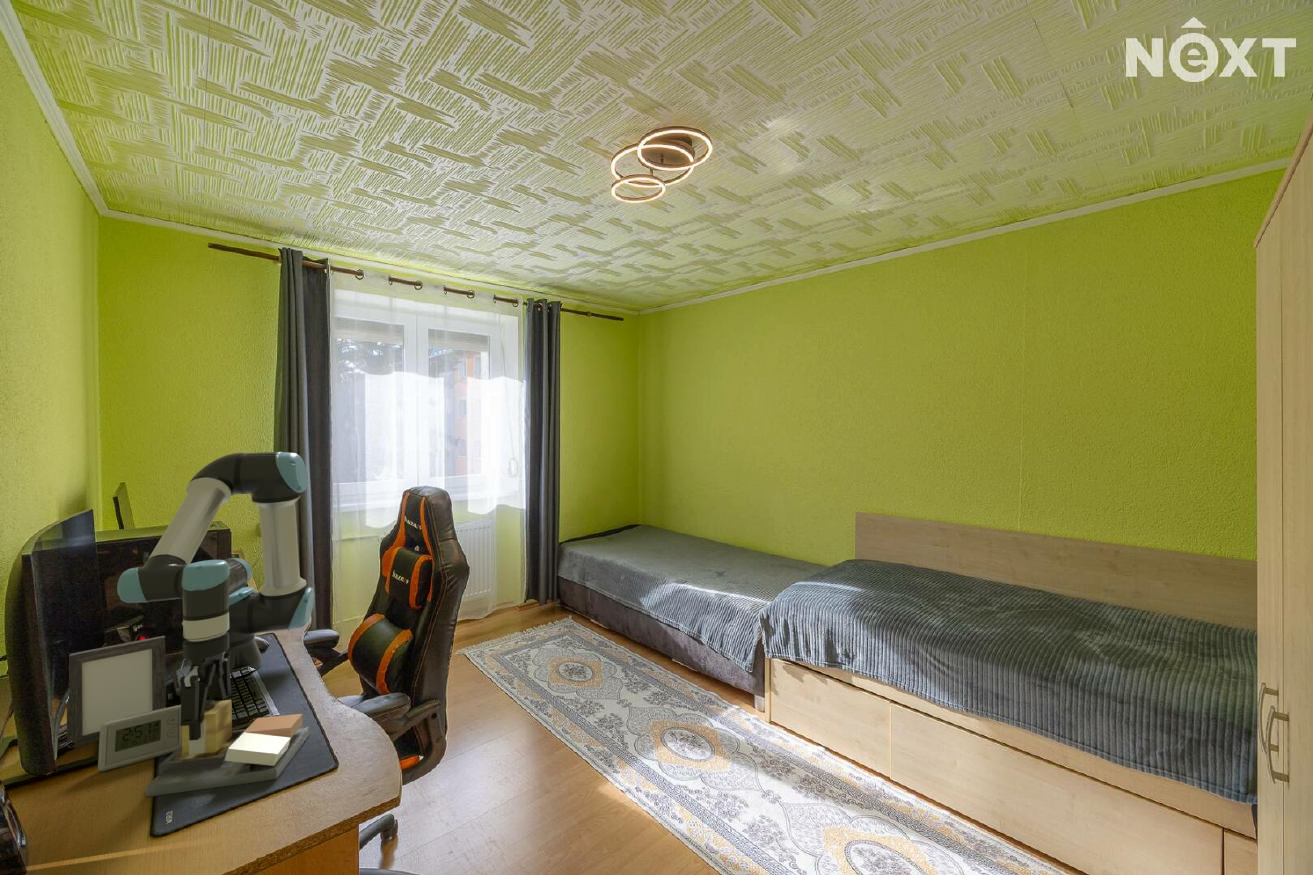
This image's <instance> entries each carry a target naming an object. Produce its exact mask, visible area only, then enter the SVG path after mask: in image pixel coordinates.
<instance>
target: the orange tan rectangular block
mask: <svg viewBox="0 0 1313 875" xmlns="http://www.w3.org/2000/svg"><path fill="white" fill-rule="evenodd" d="M303 715H304V714H303V713H298V714H297V713H296V714H294V713H293V714H287V715H274V716H263V717H257V718H256V719H255V720H254V721H253V722H252V723H250V725H249V726H248V727H247V728H245V729H246V730H245V731H244V732H245V733H254V734H263V735H271V736H280V737H289V738H292V737H293V735H294V734H295V733H296V732H297V730H298V729H299V728H302V726H303ZM244 732H243V733H244Z"/></svg>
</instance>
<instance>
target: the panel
mask: <svg viewBox="0 0 1313 875" xmlns="http://www.w3.org/2000/svg"><path fill="white" fill-rule="evenodd" d="M246 729H247V728H244V729H243V728H242V729H235V730H233V729H232V737H231V738H230V739H229V740H228V741H227V742H226V743H224V744H223V745H222V746H221V747H220V748H219V749H218V750H217V751H216V752H211V753H203V754H195V755H187V756H182V745H181V746H180V747H179V748H178V749H177V750H176V751H174V752H171V754H170V755H169V756H168V757H167V758H165V759H164V760H163V761H162V762H161V763H160V764H158V772H159V773H160V774H158V775H157V776H156V777H155V778H154V779H153V780H152V781H151V782H149V783H148V785H146V786H145V797H146V798H149V797H156V796H162V795H170V794H178V793H184V792H185V793H186V792H193V791H199V790H206V789H207V790H208V789H213V788H214V789H215V788H221V787H229V786H235V785H236V786H237V785H243V784H250V783H257V782H263V781H271V780H278V777H279V776H280V775H281V774H282V773H283V771H284V769H286V767H287V766H288V764H289V763H290V762H291V760H292V759H293V758H294V757H295V755H296V754H297V753H298V752H299V749H300V748H302V746H303V745H304V743H305V742H306V740H307V739H308V738H309V737H310V727H307V726H306V727H300V728H299V729H298V730H297V732H296V733H295V734H294V735H293V737H292V738H291V739H290V742H289V746H288V749H287V750H286V752H285V753H284V754H283V755H282V757H281V758H280V759H279V760H278V762H277V763H276V764H275V766H271V765H262V764H252V763H242V762H232V761H225V757H226V754H227V750H228V748H229V747H230V746H231V745H232V744H233V743H234V742H235V741H236V740H237V739H238V738H239V737H240V736H241V735H242V734H243V732H244V731H245V730H246ZM308 736H309V737H308ZM307 737H308V738H307ZM304 741H305V742H304ZM301 745H302V746H301Z"/></svg>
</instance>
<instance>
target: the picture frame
mask: <svg viewBox="0 0 1313 875" xmlns="http://www.w3.org/2000/svg"><path fill="white" fill-rule="evenodd" d="M69 654H70V655H69V683H68V684H69V689H71V691H72V693H71V694H70V696H69V699H68V702H67V701H66V744H67V743H69V742H71V741H74V743H75V748H79V747H82V746H86V745H89V744H93V743H96V742H99V740H100V728H101V725H102V724H104V723H106V722H110V721H114V720H118V719H122V718H124V717H128V716H132V715H136V714H141V713H145V712H149V711H153V710H157V709H162V708H167V707H166V706H167V705H166V699H167V698H166V635H161V636H154V637H151V638H145V639H139V640H135V641H130V642H125V643H120V644H115V645H110V646H109V645H108V646H104V647H98V648H94V649H89V650H84V651H78V652H73V653H69Z"/></svg>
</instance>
